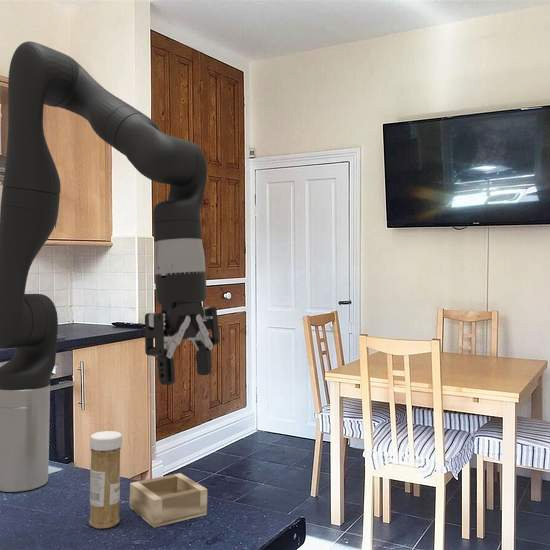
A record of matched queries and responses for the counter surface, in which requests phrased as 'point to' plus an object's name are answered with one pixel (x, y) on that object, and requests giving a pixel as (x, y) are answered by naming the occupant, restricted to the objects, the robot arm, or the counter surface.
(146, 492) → the socket block
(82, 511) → the counter surface
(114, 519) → the sprinkles bottle
